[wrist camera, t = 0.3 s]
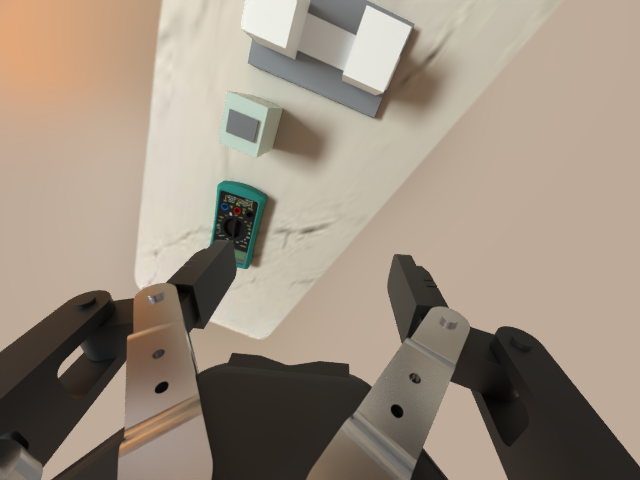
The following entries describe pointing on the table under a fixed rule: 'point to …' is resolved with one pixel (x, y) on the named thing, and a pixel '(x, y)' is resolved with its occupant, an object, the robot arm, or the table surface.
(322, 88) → the rail panel
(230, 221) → the digital multimeter
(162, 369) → the robot arm
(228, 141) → the block
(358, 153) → the table surface
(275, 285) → the table surface
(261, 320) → the table surface
